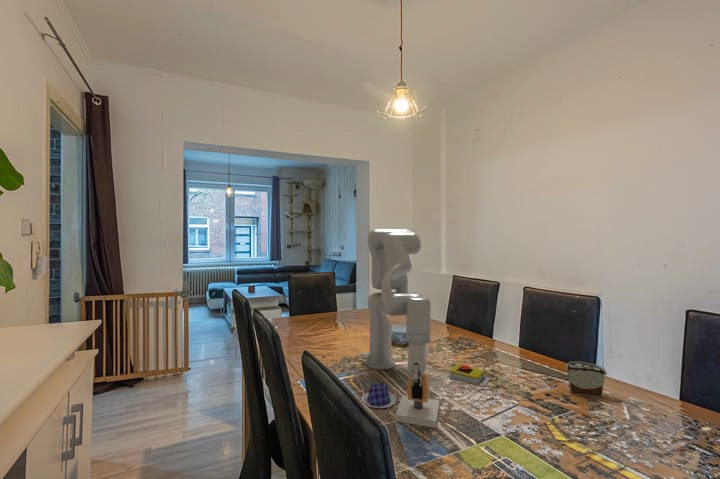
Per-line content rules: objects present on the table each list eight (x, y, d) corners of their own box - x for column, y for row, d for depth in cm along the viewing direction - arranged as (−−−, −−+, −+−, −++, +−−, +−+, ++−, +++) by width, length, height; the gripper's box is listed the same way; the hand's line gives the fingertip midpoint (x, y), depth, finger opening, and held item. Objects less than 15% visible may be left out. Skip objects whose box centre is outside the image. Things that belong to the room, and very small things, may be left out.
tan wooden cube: (407, 399, 101) (407, 380, 101) (410, 391, 107) (410, 372, 107) (427, 402, 99) (427, 382, 99) (429, 393, 105) (429, 375, 105)
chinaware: (381, 340, 179) (381, 326, 179) (405, 337, 185) (405, 323, 185) (396, 348, 165) (396, 333, 165) (420, 344, 172) (420, 329, 172)
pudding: (385, 390, 120) (385, 376, 120) (403, 405, 109) (403, 389, 109) (355, 397, 115) (355, 382, 115) (370, 413, 104) (370, 397, 104)
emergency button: (453, 360, 139) (490, 368, 130) (453, 370, 139) (490, 379, 130) (445, 366, 132) (483, 376, 123) (445, 377, 132) (483, 387, 123)
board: (395, 421, 99) (395, 391, 99) (402, 401, 111) (402, 374, 111) (436, 428, 95) (436, 397, 95) (439, 406, 108) (439, 379, 108)
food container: (600, 390, 119) (600, 363, 119) (606, 398, 113) (606, 369, 113) (561, 385, 123) (561, 359, 123) (565, 392, 117) (565, 365, 117)
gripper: (410, 328, 113) (410, 381, 112) (401, 343, 96) (401, 405, 96) (432, 330, 110) (433, 384, 110) (427, 345, 94) (427, 408, 94)
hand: (418, 393), depth 103 cm, fingers closed on tan wooden cube, 5 cm apart
